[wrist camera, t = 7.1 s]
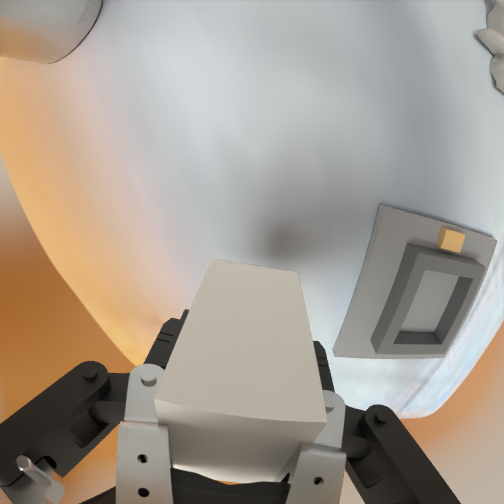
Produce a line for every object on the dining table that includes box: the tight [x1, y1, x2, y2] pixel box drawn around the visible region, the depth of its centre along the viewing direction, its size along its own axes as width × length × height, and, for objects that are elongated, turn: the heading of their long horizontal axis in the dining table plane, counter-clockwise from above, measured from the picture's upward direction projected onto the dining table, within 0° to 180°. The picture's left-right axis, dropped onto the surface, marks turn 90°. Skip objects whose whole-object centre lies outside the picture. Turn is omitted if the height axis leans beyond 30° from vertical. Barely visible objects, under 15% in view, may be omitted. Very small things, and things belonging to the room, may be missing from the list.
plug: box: [154, 258, 328, 483], centre depth 10 cm, size 4×5×8 cm
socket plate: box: [333, 204, 497, 359], centre depth 20 cm, size 14×14×3 cm
